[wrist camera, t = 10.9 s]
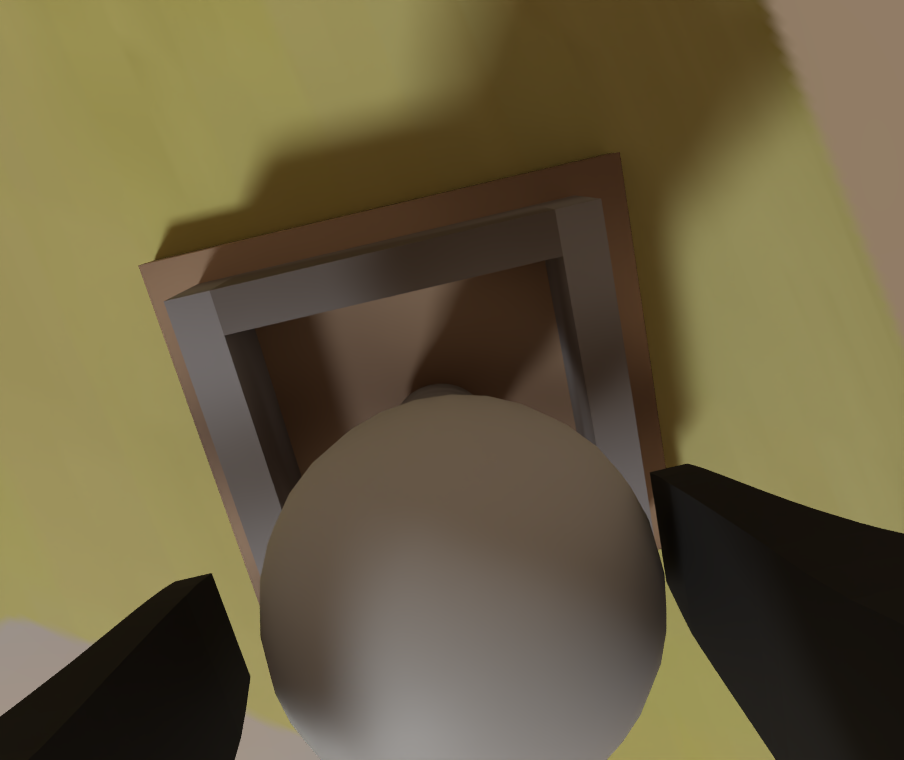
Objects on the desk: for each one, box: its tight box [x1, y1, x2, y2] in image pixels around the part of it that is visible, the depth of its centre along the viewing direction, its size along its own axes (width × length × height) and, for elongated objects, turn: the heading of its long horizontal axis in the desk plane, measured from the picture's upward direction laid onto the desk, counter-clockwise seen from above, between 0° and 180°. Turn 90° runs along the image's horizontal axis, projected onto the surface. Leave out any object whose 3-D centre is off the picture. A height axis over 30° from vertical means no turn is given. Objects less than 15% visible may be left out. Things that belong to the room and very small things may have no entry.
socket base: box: [139, 152, 666, 605], centre depth 18 cm, size 11×12×4 cm
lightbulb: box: [260, 384, 666, 760], centre depth 13 cm, size 6×6×11 cm
